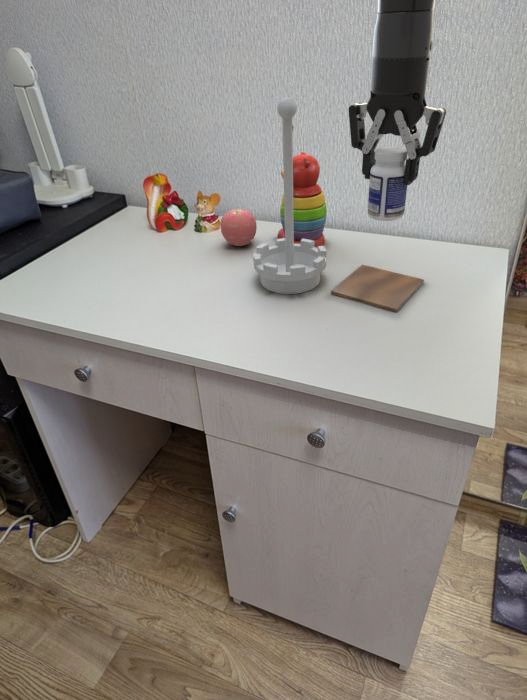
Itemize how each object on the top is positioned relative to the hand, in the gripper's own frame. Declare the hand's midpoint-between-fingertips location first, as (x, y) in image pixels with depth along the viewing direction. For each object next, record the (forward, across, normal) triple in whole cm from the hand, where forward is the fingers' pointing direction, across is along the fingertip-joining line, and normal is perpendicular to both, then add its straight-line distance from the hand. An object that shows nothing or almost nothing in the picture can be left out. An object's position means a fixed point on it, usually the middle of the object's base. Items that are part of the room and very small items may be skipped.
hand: (388, 180), depth 75 cm
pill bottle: (+6, 0, 0) cm, 6 cm away
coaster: (+19, 0, 0) cm, 19 cm away
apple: (+19, -33, +3) cm, 38 cm away
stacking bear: (+19, -22, +10) cm, 31 cm away
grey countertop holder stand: (+19, -15, -5) cm, 25 cm away
